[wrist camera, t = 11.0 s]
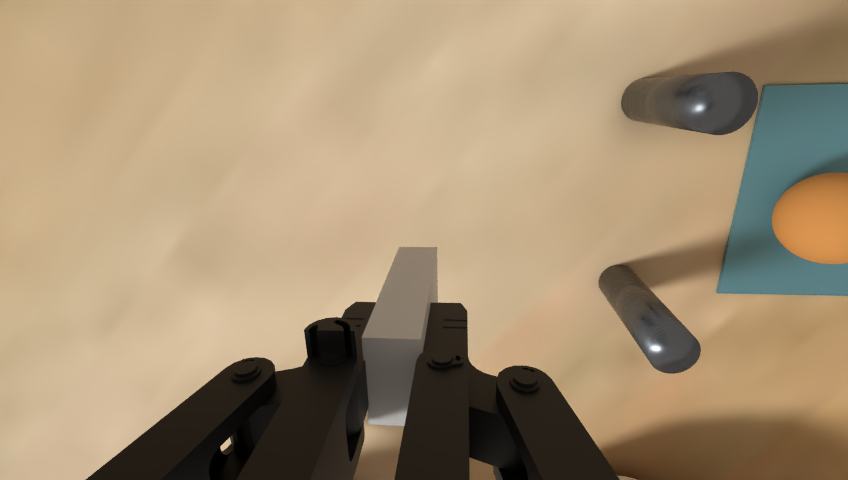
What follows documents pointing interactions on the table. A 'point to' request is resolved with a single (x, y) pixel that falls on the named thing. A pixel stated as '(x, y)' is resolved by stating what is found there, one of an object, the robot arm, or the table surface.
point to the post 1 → (693, 101)
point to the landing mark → (775, 173)
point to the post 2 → (649, 321)
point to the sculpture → (625, 478)
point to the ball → (815, 218)
